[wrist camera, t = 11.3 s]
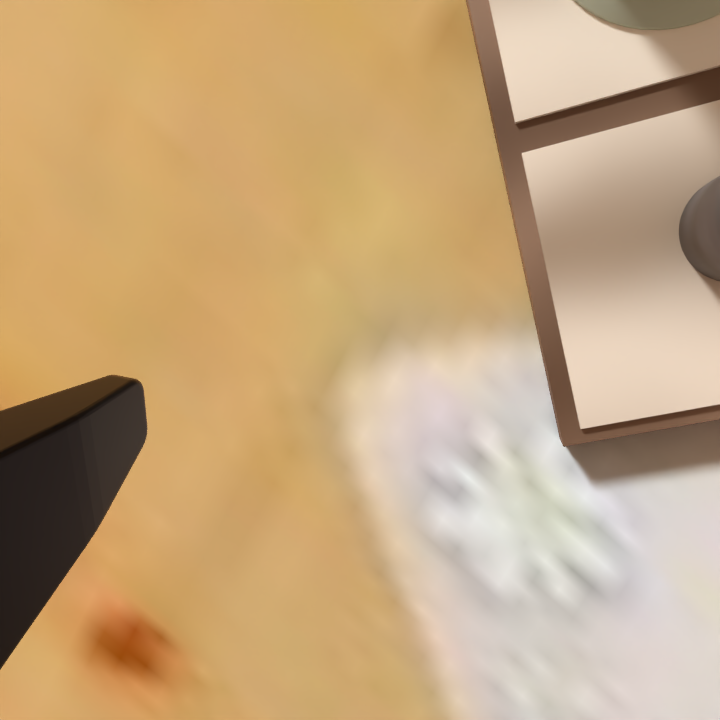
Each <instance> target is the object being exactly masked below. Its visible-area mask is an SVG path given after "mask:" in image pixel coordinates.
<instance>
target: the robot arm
mask: <svg viewBox="0 0 720 720" xmlns="http://www.w3.org/2000/svg"><path fill="white" fill-rule="evenodd" d="M146 436H147V419H146V409H145V398H144V390H143V386H142V384H141V382H140V381H138V380H137V379H133V378H128V377H123V376H118V375H109V376H106V377H103V378H100V379H97V380H94V381H91V382H88V383H84V384H81V385H78V386H75V387H72V388H69V389H66V390H63V391H60V392H57V393H54V394H51V395H48V396H45V397H42V398H39V399H35V400H32V401H29V402H26V403H23V404H20V405H17V406H14V407H11V408H8V409H5V410H2V411H0V669H1V668H2V666H3V665H4V663H5V662H6V661H7V659H8V658H9V656H10V655H11V653H12V652H13V650H14V649H15V648H16V646H17V645H18V643H19V642H20V640H21V639H22V638H23V636H24V635H25V633H26V632H27V630H28V629H29V628H30V626H31V625H32V623H33V622H34V620H35V619H36V617H37V616H38V615H39V613H40V612H41V610H42V609H43V607H44V606H45V605H46V603H47V602H48V600H49V599H50V597H51V596H52V594H53V593H54V592H55V590H56V589H57V587H58V586H59V584H60V583H61V582H62V580H63V579H64V577H65V576H66V574H67V573H68V572H69V570H70V569H71V567H72V566H73V564H74V563H75V561H76V560H77V559H78V557H79V556H80V554H81V553H82V551H83V550H84V549H85V547H86V546H87V544H88V543H89V541H90V540H91V538H92V537H93V535H94V534H95V532H96V531H97V529H98V527H99V525H100V524H101V522H102V520H103V519H104V517H105V515H106V513H107V511H108V510H109V508H110V506H111V504H112V502H113V500H114V498H115V497H116V495H117V493H118V491H119V489H120V487H121V486H122V484H123V482H124V480H125V478H126V476H127V475H128V473H129V471H130V469H131V467H132V465H133V464H134V462H135V460H136V458H137V456H138V454H139V453H140V451H141V449H142V447H143V445H144V443H145V440H146Z"/></svg>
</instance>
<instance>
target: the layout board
mask: <svg viewBox="0 0 720 720" xmlns="http://www.w3.org/2000/svg"><path fill="white" fill-rule="evenodd" d="M466 3H467V7H468V12H469V17H470V21H471V26H472V31H473V35H474V40H475V45H476V49H477V54H478V59H479V63H480V68H481V73H482V77H483V82H484V87H485V91H486V96H487V101H488V105H489V110H490V115H491V119H492V124H493V129H494V133H495V138H496V143H497V147H498V152H499V157H500V161H501V166H502V171H503V175H504V180H505V185H506V189H507V194H508V199H509V203H510V208H511V213H512V217H513V222H514V227H515V231H516V236H517V241H518V245H519V250H520V255H521V259H522V264H523V269H524V273H525V278H526V283H527V287H528V292H529V297H530V301H531V306H532V311H533V315H534V320H535V325H536V329H537V334H538V339H539V343H540V348H541V353H542V357H543V362H544V367H545V371H546V376H547V381H548V385H549V390H550V395H551V399H552V404H553V409H554V413H555V418H556V423H557V427H558V432H559V437H560V440H561V442H562V444H563V446H564V447H565V446H570V445H576V444H582V443H587V442H593V441H599V440H605V439H610V438H616V437H622V436H627V435H633V434H639V433H645V432H650V431H656V430H662V429H668V428H673V427H679V426H685V425H690V424H696V423H702V422H708V421H713V420H719V419H720V0H466Z"/></svg>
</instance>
